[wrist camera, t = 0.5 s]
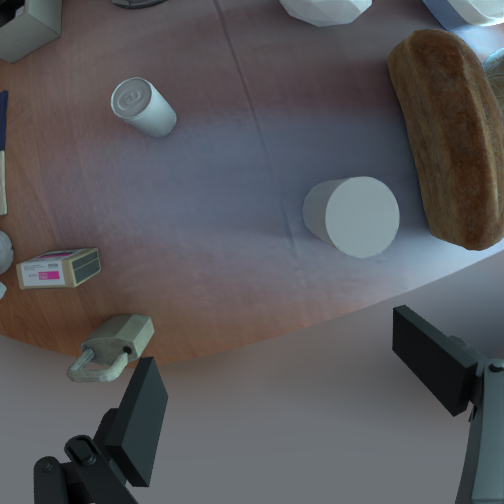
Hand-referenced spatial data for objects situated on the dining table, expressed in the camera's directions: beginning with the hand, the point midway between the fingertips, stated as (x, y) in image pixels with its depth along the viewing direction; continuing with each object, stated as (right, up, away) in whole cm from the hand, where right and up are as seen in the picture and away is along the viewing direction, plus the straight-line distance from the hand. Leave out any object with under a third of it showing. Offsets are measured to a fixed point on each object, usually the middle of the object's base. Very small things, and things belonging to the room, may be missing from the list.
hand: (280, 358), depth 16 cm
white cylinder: (+9, +11, +26) cm, 30 cm away
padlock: (-20, -6, +28) cm, 35 cm away
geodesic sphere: (+8, +42, +20) cm, 48 cm away
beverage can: (-14, +23, +23) cm, 35 cm away
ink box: (-28, +4, +26) cm, 39 cm away
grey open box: (-40, +46, +18) cm, 64 cm away
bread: (+26, +22, +24) cm, 42 cm away
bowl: (+34, +51, +19) cm, 64 cm away
